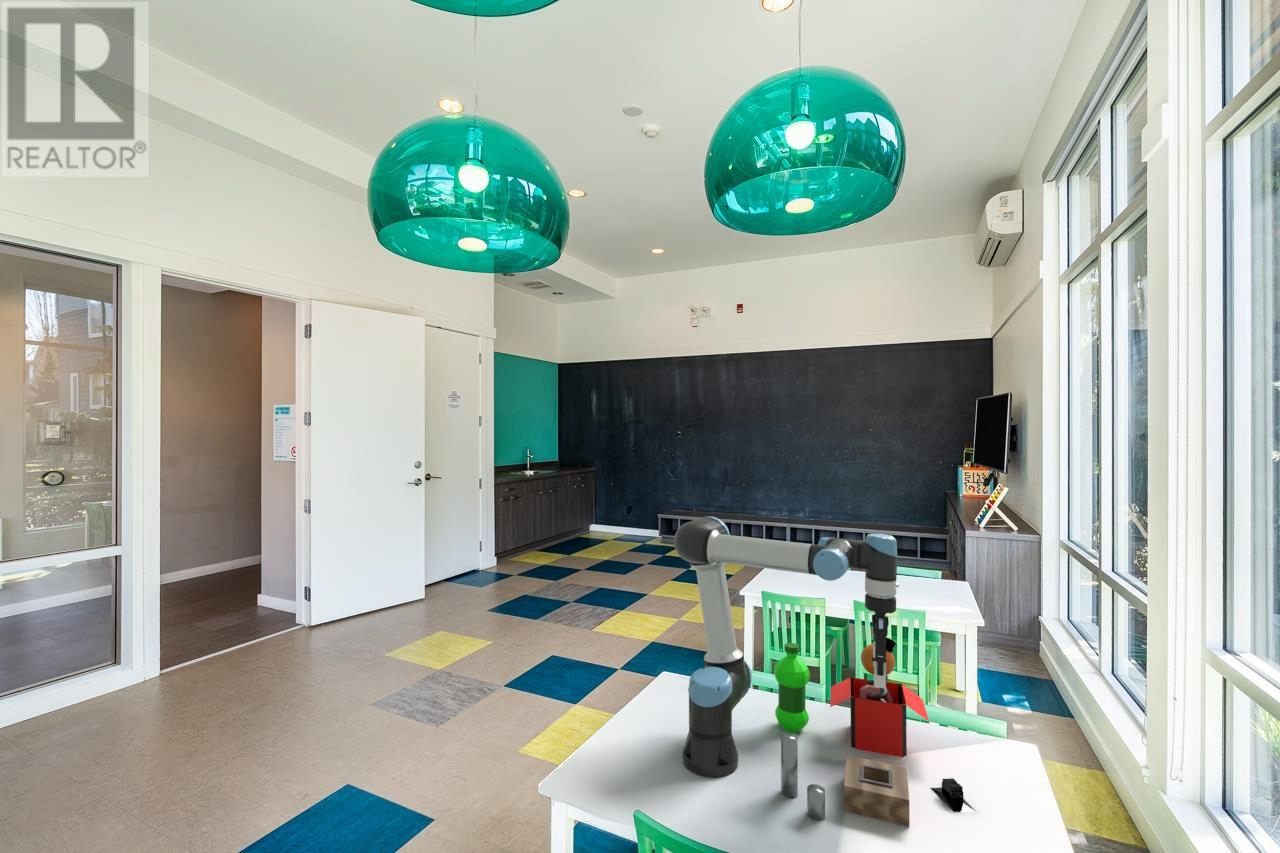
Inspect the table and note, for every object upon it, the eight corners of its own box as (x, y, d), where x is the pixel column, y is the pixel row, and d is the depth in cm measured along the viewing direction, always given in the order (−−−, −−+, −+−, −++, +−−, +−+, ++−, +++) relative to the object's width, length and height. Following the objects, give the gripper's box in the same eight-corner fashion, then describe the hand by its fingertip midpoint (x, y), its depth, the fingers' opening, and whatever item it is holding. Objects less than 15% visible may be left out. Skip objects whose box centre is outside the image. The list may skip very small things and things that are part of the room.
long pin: (779, 795, 142) (779, 738, 142) (782, 786, 146) (782, 731, 146) (796, 799, 141) (796, 742, 141) (798, 790, 144) (798, 734, 145)
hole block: (844, 811, 136) (844, 784, 137) (847, 778, 149) (847, 753, 149) (909, 826, 131) (909, 798, 131) (906, 791, 144) (906, 766, 144)
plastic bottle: (793, 740, 168) (793, 654, 169) (767, 725, 177) (767, 643, 177) (816, 730, 174) (816, 647, 174) (790, 716, 182) (789, 637, 183)
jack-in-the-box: (922, 734, 172) (921, 633, 172) (929, 762, 157) (928, 651, 158) (831, 720, 180) (831, 623, 181) (830, 745, 166) (830, 640, 166)
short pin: (806, 818, 134) (806, 792, 134) (808, 807, 138) (808, 782, 138) (824, 822, 132) (824, 796, 133) (825, 812, 136) (825, 786, 136)
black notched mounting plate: (983, 817, 135) (983, 798, 135) (953, 819, 135) (953, 799, 135) (950, 785, 148) (950, 767, 148) (923, 786, 147) (923, 768, 147)
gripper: (899, 610, 137) (897, 699, 137) (894, 584, 160) (892, 661, 160) (865, 606, 140) (863, 693, 139) (865, 581, 163) (863, 656, 163)
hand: (879, 676), depth 150 cm, fingers open, 13 cm apart
